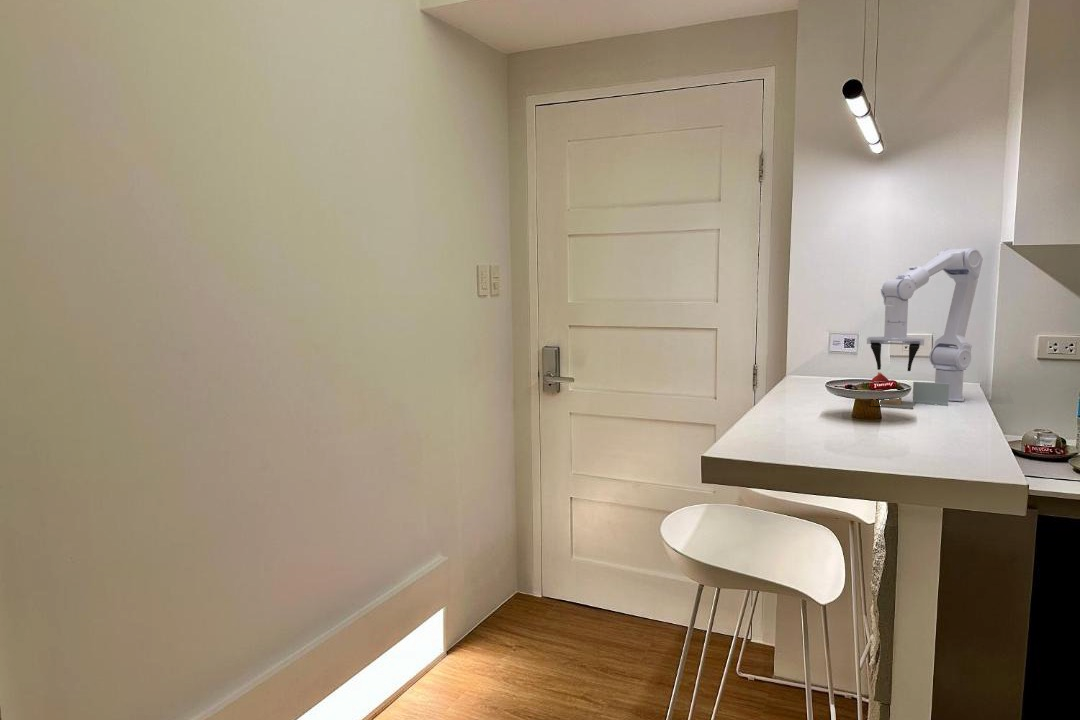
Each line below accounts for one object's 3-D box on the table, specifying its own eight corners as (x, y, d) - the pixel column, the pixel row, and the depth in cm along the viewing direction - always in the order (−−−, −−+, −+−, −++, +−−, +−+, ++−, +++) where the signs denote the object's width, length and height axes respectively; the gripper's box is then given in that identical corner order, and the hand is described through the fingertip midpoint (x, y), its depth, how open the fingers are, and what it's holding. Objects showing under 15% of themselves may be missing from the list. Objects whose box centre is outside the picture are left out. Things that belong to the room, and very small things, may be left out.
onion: (885, 397, 227) (887, 371, 226) (893, 400, 221) (894, 373, 220) (865, 397, 227) (867, 370, 227) (872, 400, 222) (873, 373, 221)
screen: (912, 401, 219) (913, 381, 218) (948, 403, 215) (949, 382, 214) (912, 403, 216) (913, 382, 215) (948, 405, 212) (949, 384, 211)
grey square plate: (872, 400, 222) (872, 399, 221) (914, 403, 216) (914, 401, 216) (869, 406, 212) (869, 404, 212) (912, 409, 207) (912, 407, 207)
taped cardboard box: (883, 401, 217) (884, 385, 216) (901, 402, 215) (902, 386, 214) (882, 404, 213) (883, 388, 212) (900, 405, 211) (901, 389, 210)
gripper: (866, 322, 211) (864, 370, 213) (924, 323, 205) (922, 373, 206) (868, 320, 218) (867, 367, 219) (925, 321, 211) (923, 370, 212)
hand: (893, 370), depth 213 cm, fingers open, 7 cm apart
